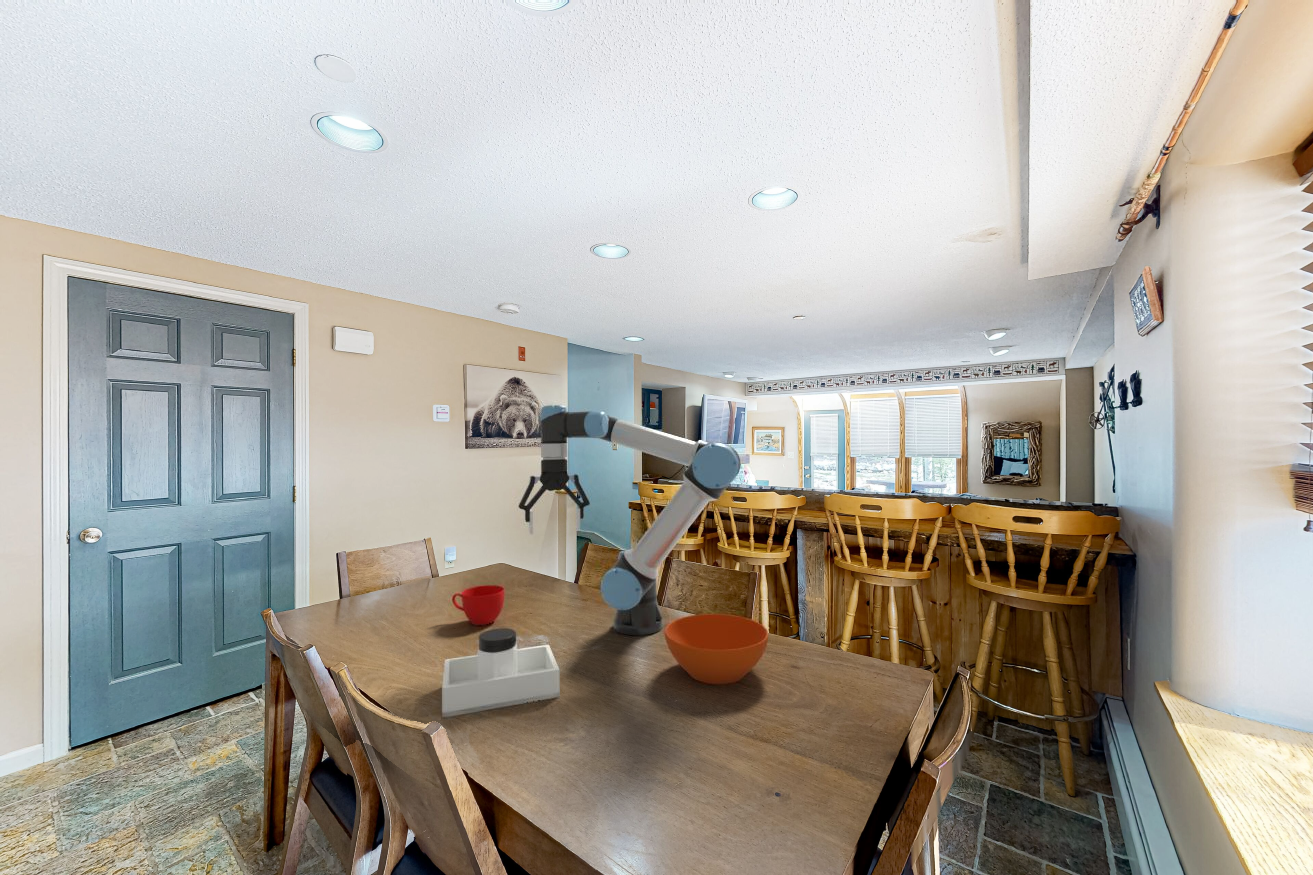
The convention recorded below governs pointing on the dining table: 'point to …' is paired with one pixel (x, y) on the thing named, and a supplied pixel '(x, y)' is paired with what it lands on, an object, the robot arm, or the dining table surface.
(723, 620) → the bowl
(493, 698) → the bin
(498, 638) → the jar
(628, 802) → the dining table surface
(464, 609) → the ceramic cup
